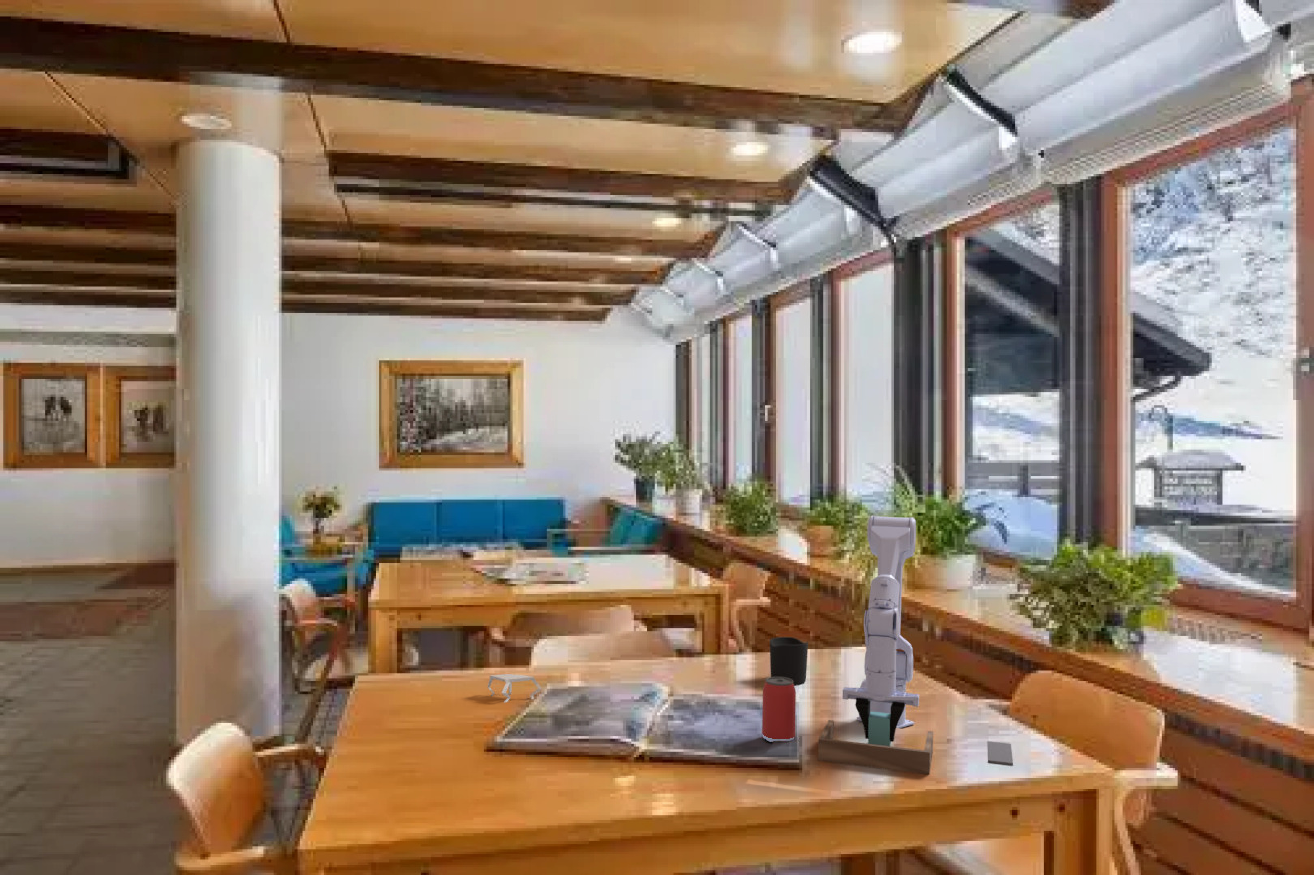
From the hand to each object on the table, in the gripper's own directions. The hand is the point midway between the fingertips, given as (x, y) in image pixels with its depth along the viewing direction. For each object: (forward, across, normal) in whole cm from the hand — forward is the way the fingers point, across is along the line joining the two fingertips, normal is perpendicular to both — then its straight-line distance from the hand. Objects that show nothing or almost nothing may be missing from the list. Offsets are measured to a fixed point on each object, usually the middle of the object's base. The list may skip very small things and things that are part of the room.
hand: (879, 738), depth 187 cm
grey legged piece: (+2, -82, +5) cm, 83 cm away
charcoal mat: (+2, +18, +6) cm, 19 cm away
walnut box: (+2, 0, -6) cm, 7 cm away
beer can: (+2, -20, -2) cm, 20 cm away
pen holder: (+2, -27, +44) cm, 52 cm away
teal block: (+1, 0, 0) cm, 1 cm away
